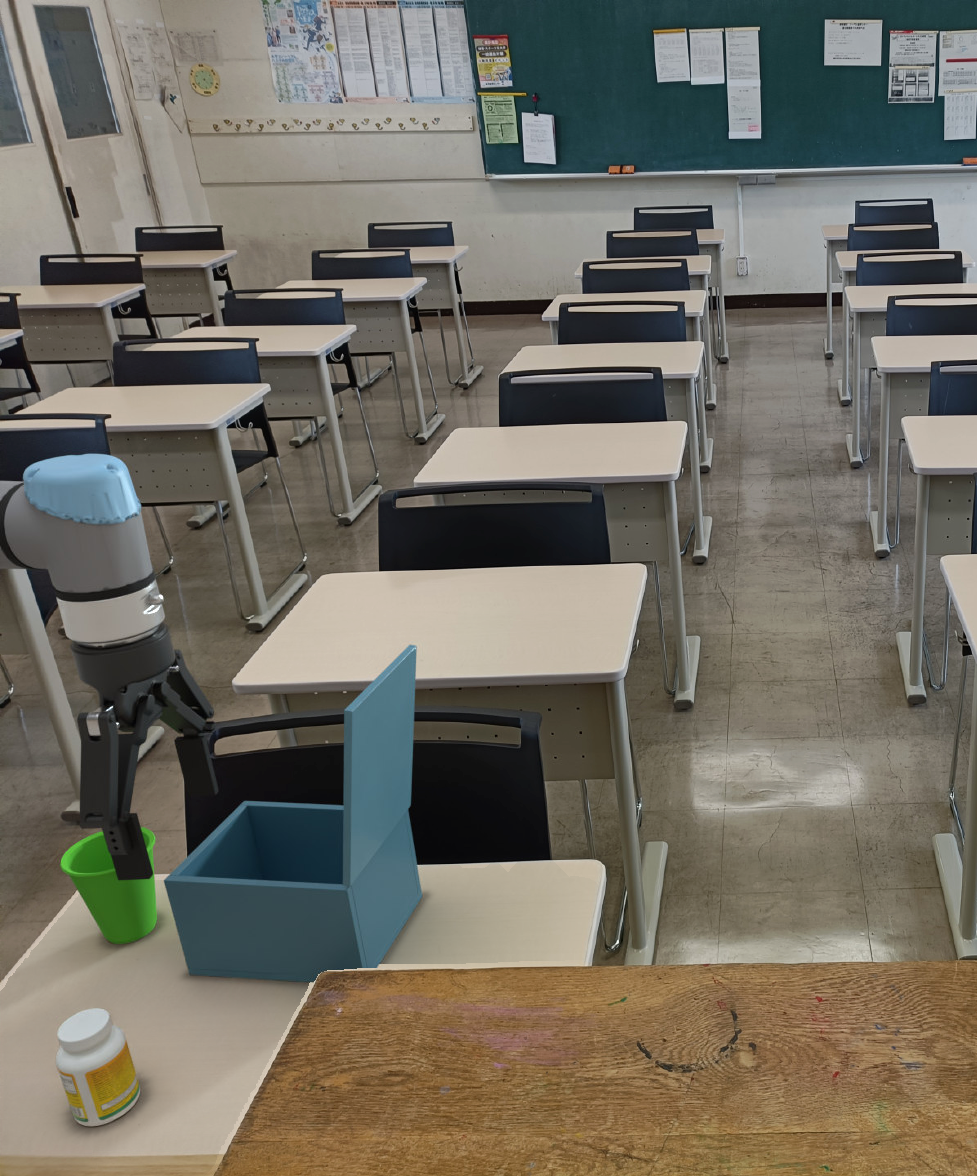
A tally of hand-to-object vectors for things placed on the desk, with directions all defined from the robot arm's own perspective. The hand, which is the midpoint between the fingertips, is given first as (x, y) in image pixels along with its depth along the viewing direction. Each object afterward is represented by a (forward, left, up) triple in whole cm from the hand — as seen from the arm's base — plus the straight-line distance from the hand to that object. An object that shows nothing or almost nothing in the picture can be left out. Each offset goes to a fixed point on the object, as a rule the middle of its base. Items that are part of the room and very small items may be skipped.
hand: (171, 833), depth 100 cm
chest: (+4, +12, -22) cm, 25 cm away
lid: (+15, +12, +2) cm, 19 cm away
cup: (-17, +11, -22) cm, 30 cm away
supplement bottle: (-3, -12, -22) cm, 25 cm away
